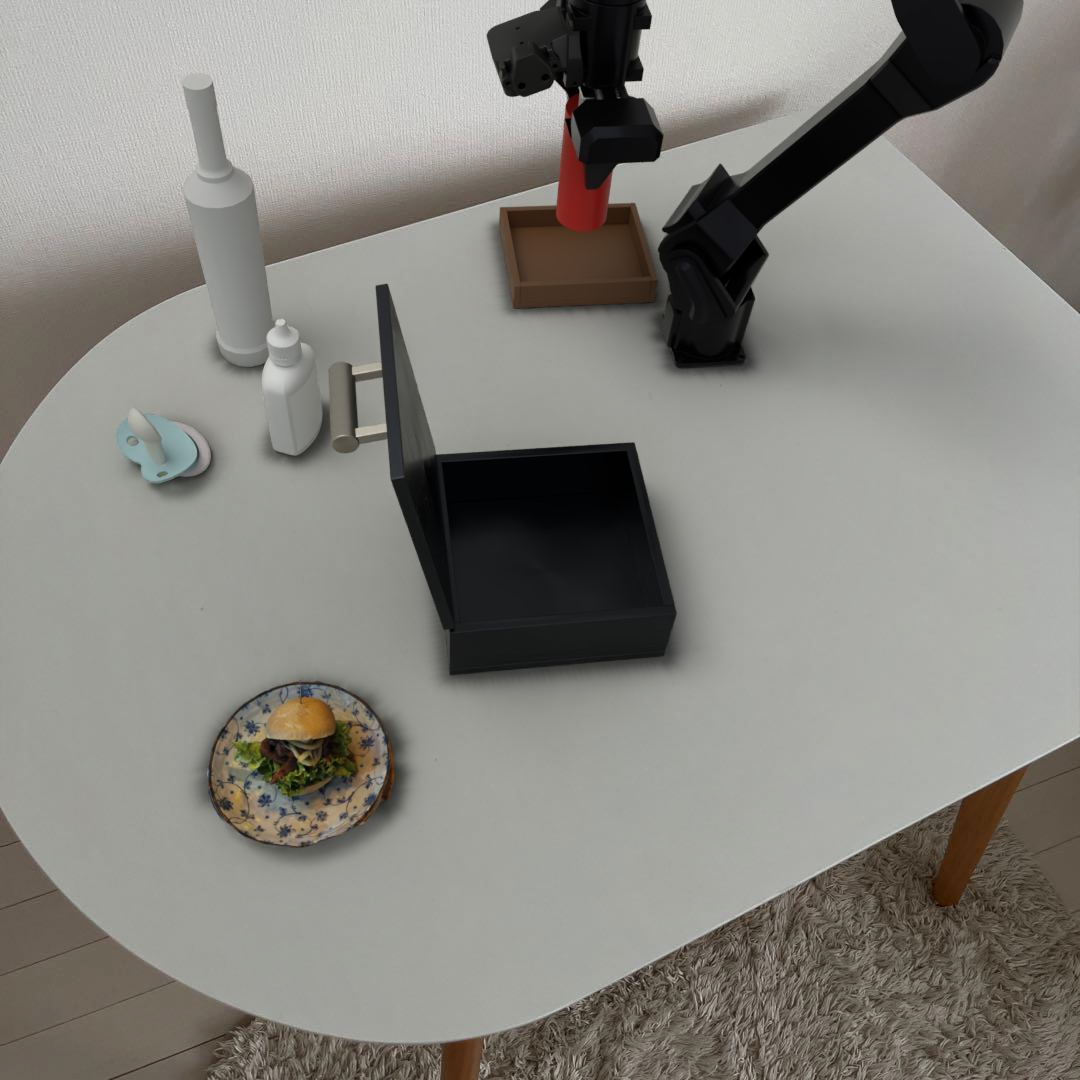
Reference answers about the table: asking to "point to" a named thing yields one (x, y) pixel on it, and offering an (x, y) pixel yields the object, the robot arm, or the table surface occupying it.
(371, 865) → the table surface
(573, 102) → the ketchup
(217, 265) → the bottle
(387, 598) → the table surface
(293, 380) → the eye dropper bottle
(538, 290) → the tray
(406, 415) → the door
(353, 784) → the burger
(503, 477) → the black open box
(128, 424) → the pacifier
